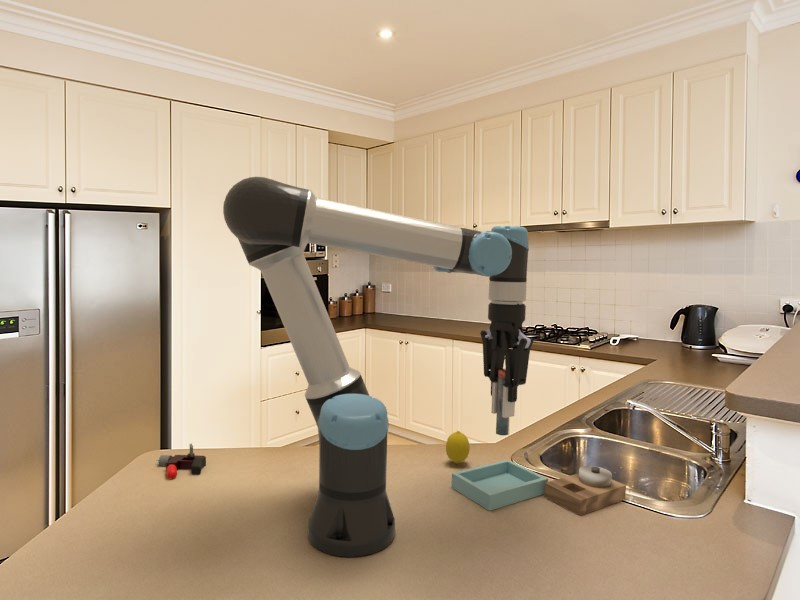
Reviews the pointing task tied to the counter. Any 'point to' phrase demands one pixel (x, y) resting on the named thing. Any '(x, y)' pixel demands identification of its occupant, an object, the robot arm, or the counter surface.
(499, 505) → the tray
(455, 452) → the lemon
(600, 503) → the block
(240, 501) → the counter surface
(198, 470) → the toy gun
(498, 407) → the pin
